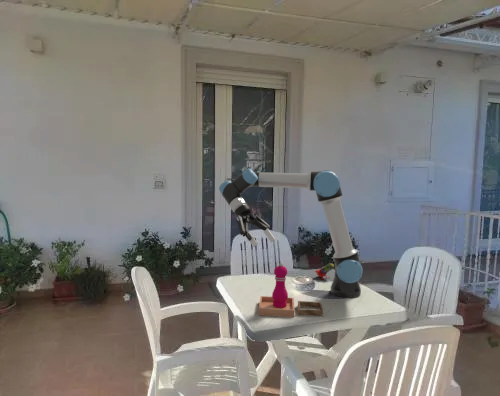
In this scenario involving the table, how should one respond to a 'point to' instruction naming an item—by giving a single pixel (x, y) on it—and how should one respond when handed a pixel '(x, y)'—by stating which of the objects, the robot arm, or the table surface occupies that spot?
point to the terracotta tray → (270, 310)
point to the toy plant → (324, 270)
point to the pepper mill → (280, 287)
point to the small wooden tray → (309, 311)
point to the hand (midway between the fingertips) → (264, 243)
